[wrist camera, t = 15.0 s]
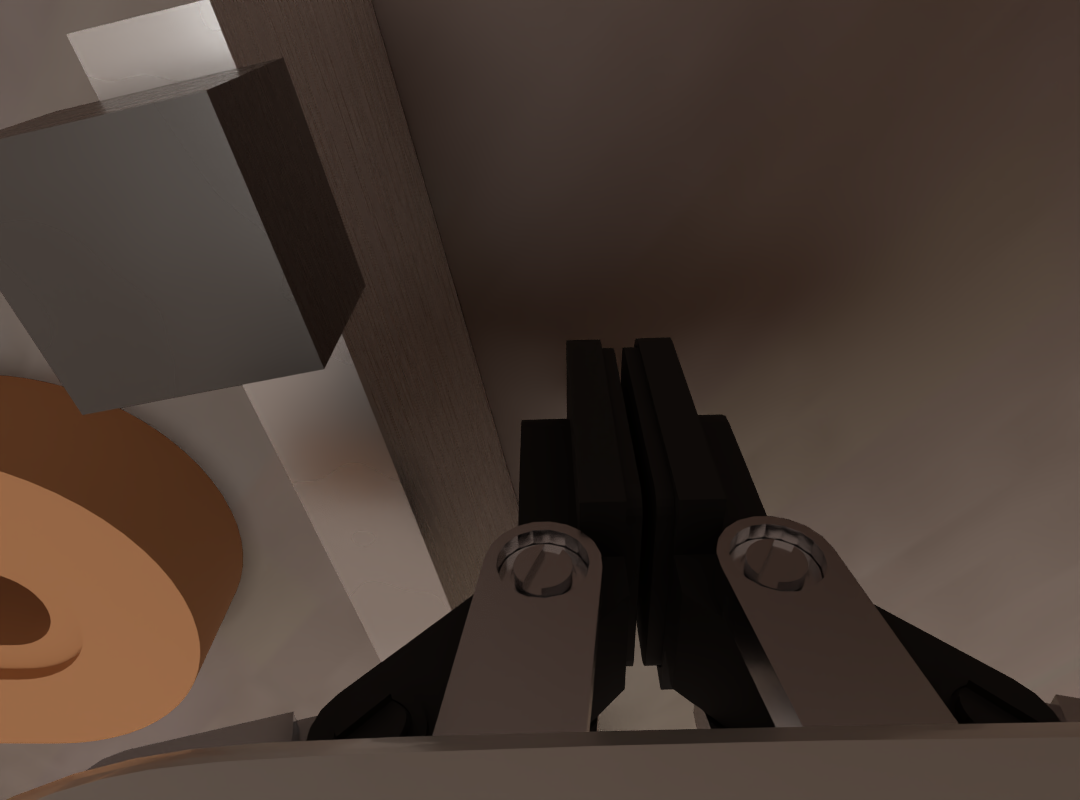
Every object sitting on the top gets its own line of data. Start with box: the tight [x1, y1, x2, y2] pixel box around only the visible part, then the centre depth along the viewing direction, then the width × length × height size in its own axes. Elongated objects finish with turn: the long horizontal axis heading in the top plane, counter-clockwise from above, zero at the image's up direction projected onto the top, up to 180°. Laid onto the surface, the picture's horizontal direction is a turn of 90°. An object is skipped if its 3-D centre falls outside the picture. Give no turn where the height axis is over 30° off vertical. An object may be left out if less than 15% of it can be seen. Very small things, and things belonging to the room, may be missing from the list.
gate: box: [0, 0, 519, 662], centre depth 12 cm, size 18×2×8 cm, turn 12°
